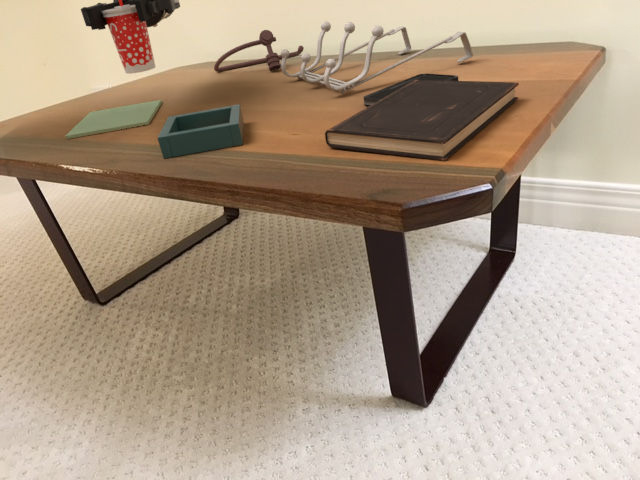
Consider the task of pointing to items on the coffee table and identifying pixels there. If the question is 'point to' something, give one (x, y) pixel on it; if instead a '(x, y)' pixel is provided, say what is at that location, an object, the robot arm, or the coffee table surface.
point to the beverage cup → (130, 38)
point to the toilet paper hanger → (271, 59)
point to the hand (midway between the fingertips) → (115, 15)
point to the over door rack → (377, 35)
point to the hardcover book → (424, 118)
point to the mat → (115, 119)
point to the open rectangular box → (202, 131)
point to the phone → (388, 90)
